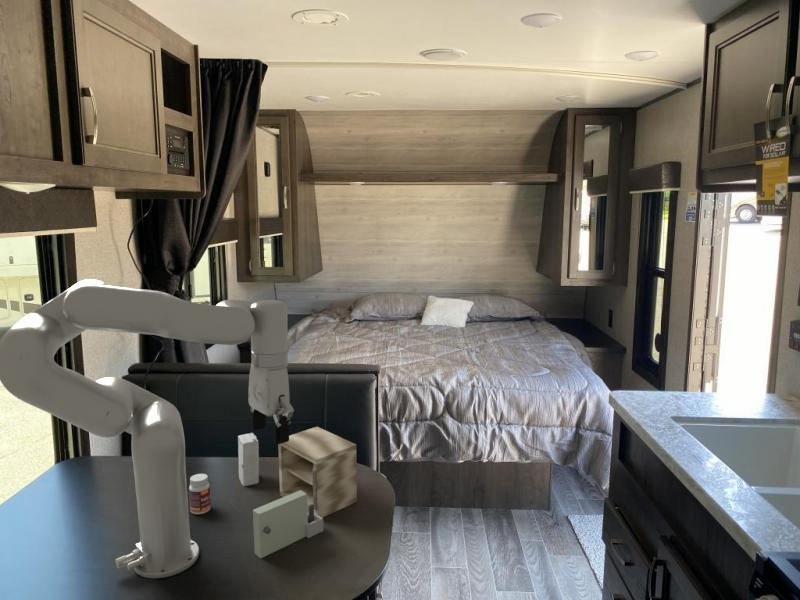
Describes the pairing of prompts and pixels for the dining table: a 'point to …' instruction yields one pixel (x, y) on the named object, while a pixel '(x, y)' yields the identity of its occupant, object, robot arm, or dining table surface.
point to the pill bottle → (199, 494)
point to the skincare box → (248, 459)
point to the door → (283, 523)
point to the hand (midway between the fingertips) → (270, 435)
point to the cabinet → (319, 470)
